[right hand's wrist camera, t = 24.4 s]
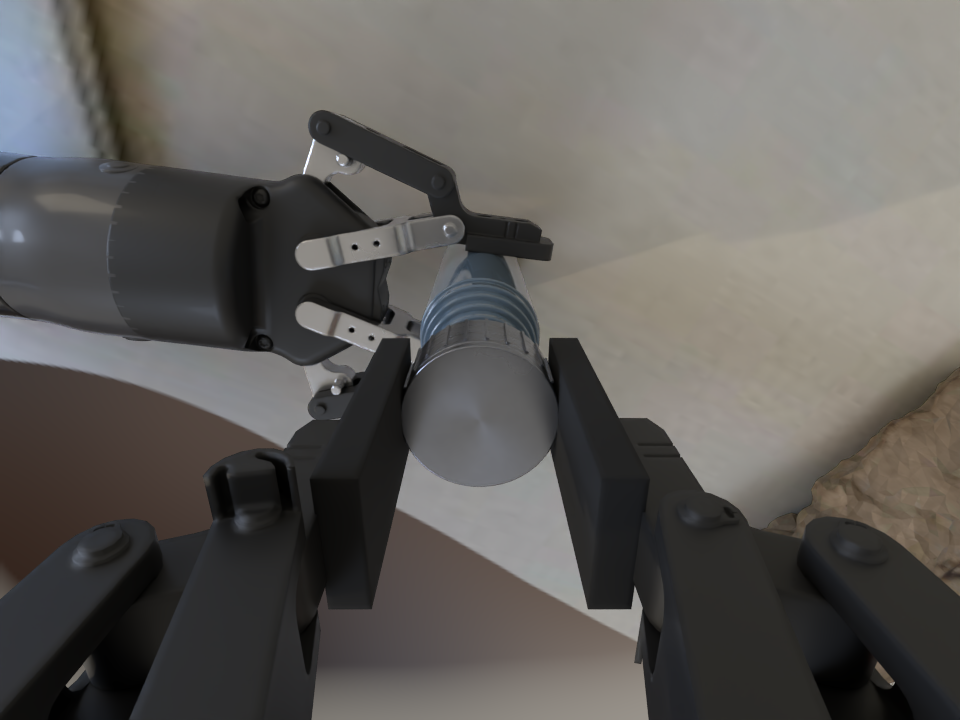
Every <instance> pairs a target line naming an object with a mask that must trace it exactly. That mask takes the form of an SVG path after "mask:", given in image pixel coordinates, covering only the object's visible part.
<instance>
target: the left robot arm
mask: <svg viewBox="0 0 960 720" xmlns="http://www.w3.org/2000/svg"><path fill="white" fill-rule="evenodd" d="M308 128H309V132H310V134H311V136H312V138H313V142H312V146H311V149H310V152H309V155H308V158H307V162H306V165H305V168H304V171H303V174H298V175H293V176H291V177H289V178H287V179H284V180H282V181H268V180H261V179H253V178H246V177H238V176H231V175H223V174H216V173H208V172H201V171H193V170H186V169H178V168H171V167H163V166H154V165H147V164H140V163H133V162H125V161H118V160H111V159H101V158H51V157H37V156H30V155H22V154H15V153H7V152H0V317H9V318H17V319H26V320H35V321H42V322H48V323H53V324H57V325H61V326H65V327H68V328H72V329H76V330H81V331H85V332H91V333H97V334H103V335H112V336H121V337H123V338H126V339H128V340H134V341H151V340H154V341H163V342H171V343H181V344H189V345H198V346H206V347H214V348H223V349H231V350H240V351H258V352H272V353H275V354H278V355H280V356H282V357H284V358H286V359H288V360H289V361H291V362H292V363H294V364H297V365H300V366H303V368H304V371H305V374H306V377H307V380H308V383H309V386H310V389H311V392H312V395H313V397H312V400H311V401H310V402H309V404H308V412H309V414H310V415H311V416H312V417H313V418H314V419H316V420H330V419H337V418H341V417H342V415H343V413H344V411H345V409H346V407H347V405H348V403H349V402H350V400H351V398H352V396H353V394H354V392H355V390H356V388H357V386H358V384H359V382H360V380H361V378H362V376H363V375H364V373H365V372H359V373H355V371H354V370H353V369H352V368H351V367H349V366H346V365H336V364H333V363H332V362H331V361H330V360H329V359H328V358H330V357H332V356H334V355H335V354H337V353H339V352H341V351H343V350H345V349H347V348H348V347H350V346H352V345H356V346H358V347H361V348H363V349H366V350H368V351H371V352H373V353H375V351H376V349H377V348H378V346H379V344H380V342H381V340H382V338H410V346H411V363H413V364H414V361H415V359H416V355H417V352H418V349H419V348H421V344H420V328H421V322H422V321H419V320H417V319H415V318H413V317H412V316H411V315H410V314H409V313H408V312H406V311H404V310H401V309H399V308H396V307H394V306H392V305H389V291H388V286H387V282H386V276H387V273H388V270H389V267H390V265H391V260H392V256H398V255H403V254H407V253H410V252H413V251H417V250H423V249H429V248H435V247H441V246H448V245H453V244H463V245H466V246H465V251H471V252H478V253H488V254H494V255H502V256H510V257H517V258H525V259H533V260H541V261H550V260H551V256H552V250H553V245H554V244H553V243H552V241H551V240H550V239H548V238H545V237H541V232H542V230H541V229H540V227H539V226H538V225H536V224H534V223H533V222H531V221H529V220H525V219H518V218H510V217H502V216H495V215H487V214H480V213H474V212H471V211H469V210H468V209H466V208H465V207H464V205H463V204H462V202H461V199H460V195H459V190H458V186H457V182H456V175H455V172H454V171H453V169H452V168H450V167H449V166H447V165H445V164H443V163H441V162H439V161H437V160H435V159H433V158H430V157H428V156H426V155H424V154H422V153H420V152H418V151H416V150H414V149H412V148H410V147H408V146H406V145H404V144H402V143H399V142H397V141H395V140H393V139H391V138H389V137H387V136H385V135H383V134H381V133H379V132H377V131H375V130H373V129H371V128H369V127H366V126H364V125H362V124H360V123H358V122H356V121H354V120H352V119H350V118H348V117H346V116H344V115H340V114H337V113H333V112H329V111H325V110H320V111H317V112H315V113H314V114H312V116H311V117H310V119H309V123H308ZM365 165H367V166H369V167H371V168H373V169H375V170H377V171H379V172H381V173H384V174H386V175H388V176H390V177H392V178H394V179H396V180H398V181H401V182H403V183H405V184H407V185H409V186H411V187H413V188H415V189H417V190H420V191H422V192H424V193H426V194H428V198H429V202H430V206H431V210H432V212H430V213H424V214H418V215H406V216H400V217H394V218H388V219H382V220H376V221H373V220H372V219H371V218H370V217H369V216H367V215H366V214H365V213H364V212H363V211H362V210H361V209H360V208H359V207H357V206H356V205H355V204H354V203H353V202H352V201H351V200H350V199H349V198H347V197H346V196H345V195H344V194H343V193H342V192H341V191H340V190H339V189H337V188H336V187H335V186H334V185H333V184H332V183H331V182H330V180H331V178H332V177H333V176H334V175H335V174H337V173H341V174H344V175H353V174H357V173H360V172H361V171H362V170H363V169H364V167H365ZM384 317H385V318H384ZM371 335H372V336H374V337H372V336H371Z"/></svg>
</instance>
